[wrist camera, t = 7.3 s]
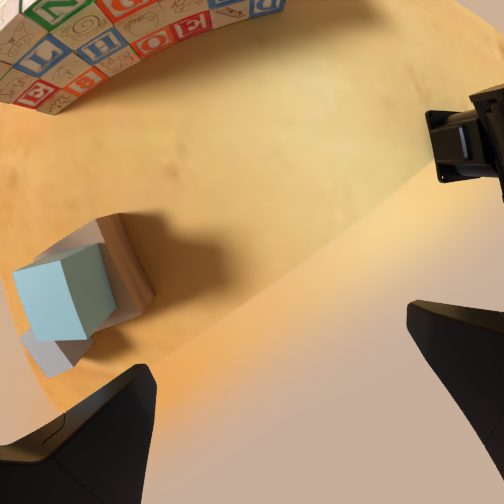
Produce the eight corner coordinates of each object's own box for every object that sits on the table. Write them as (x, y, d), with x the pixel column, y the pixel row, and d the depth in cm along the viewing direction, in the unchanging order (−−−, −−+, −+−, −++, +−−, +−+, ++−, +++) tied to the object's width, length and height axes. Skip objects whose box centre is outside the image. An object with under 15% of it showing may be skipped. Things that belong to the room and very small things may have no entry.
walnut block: (119, 212, 19) (95, 218, 16) (157, 293, 21) (141, 315, 17) (60, 247, 20) (32, 258, 16) (94, 318, 21) (74, 339, 17)
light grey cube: (67, 300, 21) (41, 321, 16) (95, 340, 22) (73, 367, 17) (43, 317, 21) (18, 337, 17) (68, 354, 22) (48, 378, 18)
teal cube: (98, 242, 16) (59, 260, 12) (116, 307, 17) (87, 339, 13) (51, 254, 16) (11, 272, 12) (69, 312, 17) (36, 340, 13)
